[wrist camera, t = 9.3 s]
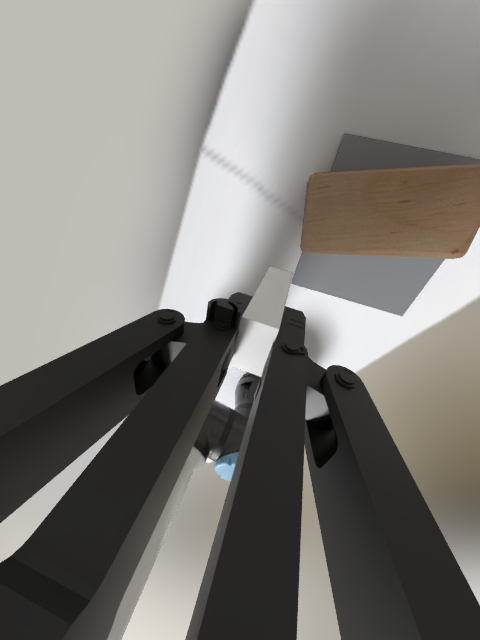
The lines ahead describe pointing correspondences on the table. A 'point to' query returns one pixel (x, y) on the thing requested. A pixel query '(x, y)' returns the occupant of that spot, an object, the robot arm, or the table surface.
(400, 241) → the wooden block
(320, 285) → the mat
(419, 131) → the table surface
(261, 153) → the table surface
